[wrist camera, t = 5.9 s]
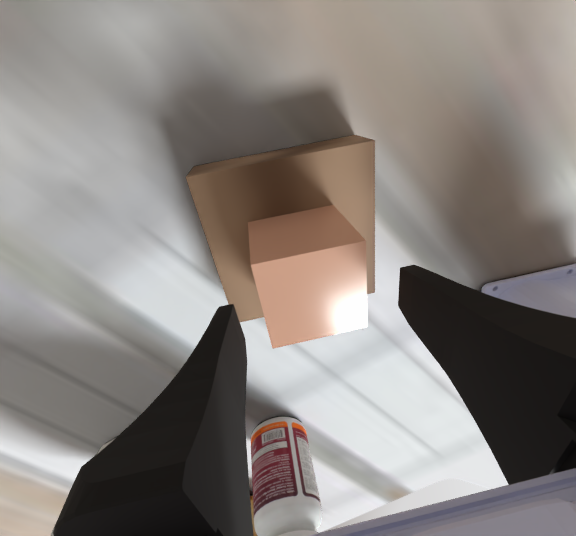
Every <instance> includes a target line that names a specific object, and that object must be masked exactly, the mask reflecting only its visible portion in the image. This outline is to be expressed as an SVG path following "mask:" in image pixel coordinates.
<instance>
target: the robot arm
mask: <svg viewBox="0 0 576 536" xmlns="http://www.w3.org/2000/svg"><path fill="white" fill-rule="evenodd" d="M398 306H399V308H400V309H401V311H402V313H403V315H404V317H405V318H406V320H407V322H408V324H409V325H410V326H411V328H412V329H413V330H414V332H415V333H416V334H417V336H418V337H419V338H420V340H421V341H422V342H423V344H424V345H425V346H426V347H427V349H428V350H429V351H430V353H431V354H432V355H433V356H434V358H435V359H436V360H437V362H438V363H439V364H440V366H441V367H442V368H443V370H444V371H445V372H446V374H447V375H448V377H449V378H450V380H451V382H452V383H453V385H454V386H455V388H456V390H457V391H458V393H459V394H460V396H461V398H462V399H463V401H464V403H465V404H466V406H467V408H468V410H469V411H470V413H471V415H472V416H473V418H474V420H475V421H476V423H477V425H478V427H479V429H480V431H481V432H482V434H483V436H484V438H485V440H486V442H487V443H488V445H489V447H490V449H491V451H492V453H493V455H494V456H495V458H496V460H497V462H498V464H499V466H500V468H501V470H502V472H503V474H504V476H505V478H506V480H507V482H508V484H509V485H507V486H503V487H499V488H495V489H491V490H487V491H483V492H479V493H475V494H471V495H468V496H463V497H459V498H455V499H451V500H448V501H444V502H440V503H436V504H432V505H428V506H424V507H420V508H416V509H412V510H408V511H404V512H400V513H396V514H392V515H388V516H384V517H380V518H376V519H372V520H369V521H364V522H361V523H357V524H353V525H349V526H345V527H341V528H337V529H333V530H329V531H325V532H321V533H317V534H313V535H309V536H576V264H572V265H567V266H563V267H558V268H554V269H549V270H545V271H540V272H536V273H532V274H527V275H523V276H518V277H514V278H509V279H505V280H500V281H496V282H491V283H487V284H485V285H484V286H483V287H482V290H481V292H480V291H477V290H474V289H472V288H469V287H467V286H464V285H462V284H459V283H457V282H454V281H452V280H450V279H447V278H445V277H443V276H440V275H438V274H436V273H433V272H431V271H429V270H426V269H424V268H421V267H419V266H416V265H411V266H406V267H401V268H400V281H399V301H398ZM246 376H247V355H246V343H245V337H244V334H243V331H242V328H241V325H240V322H239V319H238V316H237V313H236V310H235V307H234V304H230V305H225V306H221V307H219V308H218V309H217V311H216V313H215V315H214V317H213V318H212V320H211V322H210V324H209V326H208V328H207V329H206V331H205V333H204V335H203V336H202V338H201V340H200V341H199V343H198V345H197V346H196V348H195V349H194V351H193V352H192V354H191V355H190V357H189V358H188V360H187V361H186V363H185V364H184V366H183V367H182V368H181V370H180V371H179V372H178V374H177V375H176V376H175V378H174V379H173V380H172V381H171V383H170V384H169V385H168V386H167V387H166V388H165V390H164V391H163V392H162V393H161V394H160V395H159V396H158V397H157V398H156V399H155V400H154V402H153V403H152V404H151V405H150V406H149V407H148V408H147V409H146V410H145V411H144V412H143V413H142V414H141V415H140V416H139V417H138V418H137V419H136V420H135V421H134V422H133V423H132V424H131V425H130V426H129V427H128V428H126V429H125V430H124V431H123V432H122V433H121V434H120V435H119V436H118V437H117V438H116V439H114V440H113V441H112V442H111V443H110V444H109V445H107V446H106V447H105V448H104V449H103V450H101V451H100V452H99V453H98V454H97V455H95V456H94V457H93V458H92V459H91V460H90V461H88V462H87V463H86V464H85V465H83V466H82V467H81V469H80V471H79V473H78V475H77V477H76V479H75V481H74V483H73V486H72V488H71V490H70V492H69V495H68V497H67V499H66V502H65V504H64V506H63V509H62V511H61V513H60V516H59V518H58V520H57V522H56V525H55V527H54V530H53V535H54V536H254V535H253V524H252V514H251V502H250V490H249V478H248V464H247V449H246V432H245V400H246Z"/></svg>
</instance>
